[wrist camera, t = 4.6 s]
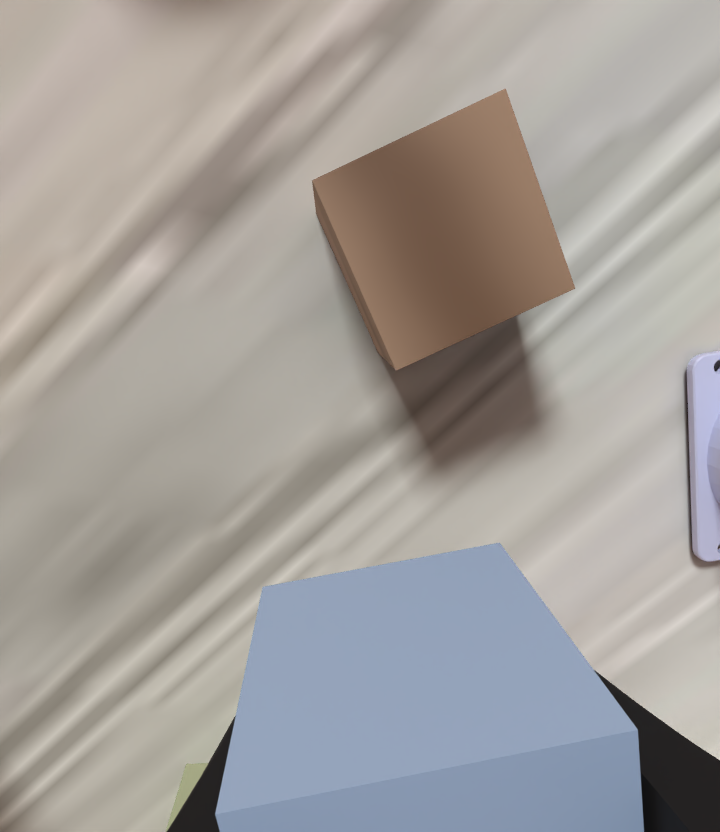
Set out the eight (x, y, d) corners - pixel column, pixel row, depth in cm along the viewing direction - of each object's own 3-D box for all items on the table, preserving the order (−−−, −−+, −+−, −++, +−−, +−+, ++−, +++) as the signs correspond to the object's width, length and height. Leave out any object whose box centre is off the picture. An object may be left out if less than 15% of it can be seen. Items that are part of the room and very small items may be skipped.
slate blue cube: (499, 542, 11) (637, 730, 6) (523, 741, 12) (656, 1033, 7) (262, 586, 11) (214, 813, 6) (307, 784, 12) (297, 1111, 7)
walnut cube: (455, 148, 17) (505, 88, 12) (509, 291, 18) (575, 288, 14) (316, 214, 18) (311, 180, 13) (378, 352, 19) (396, 370, 14)
